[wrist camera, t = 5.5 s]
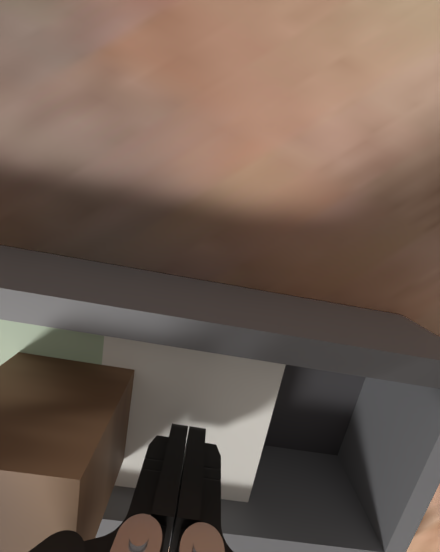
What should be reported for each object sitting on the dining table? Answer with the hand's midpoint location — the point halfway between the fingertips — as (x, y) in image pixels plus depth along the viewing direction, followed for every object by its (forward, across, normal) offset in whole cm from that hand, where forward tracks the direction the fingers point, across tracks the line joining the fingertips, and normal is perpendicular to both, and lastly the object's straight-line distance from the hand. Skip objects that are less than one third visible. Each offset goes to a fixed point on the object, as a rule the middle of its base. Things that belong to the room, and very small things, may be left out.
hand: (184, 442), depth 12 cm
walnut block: (+1, +5, 0) cm, 5 cm away
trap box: (+5, +5, 0) cm, 7 cm away
